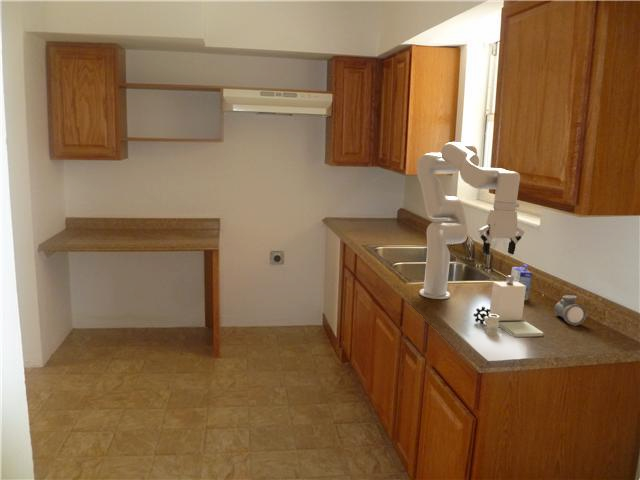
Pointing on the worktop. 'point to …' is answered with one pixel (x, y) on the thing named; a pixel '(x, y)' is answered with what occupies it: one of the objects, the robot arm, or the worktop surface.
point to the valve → (488, 320)
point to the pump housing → (508, 300)
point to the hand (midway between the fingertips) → (498, 253)
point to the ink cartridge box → (522, 277)
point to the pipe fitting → (570, 310)
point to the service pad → (520, 329)
